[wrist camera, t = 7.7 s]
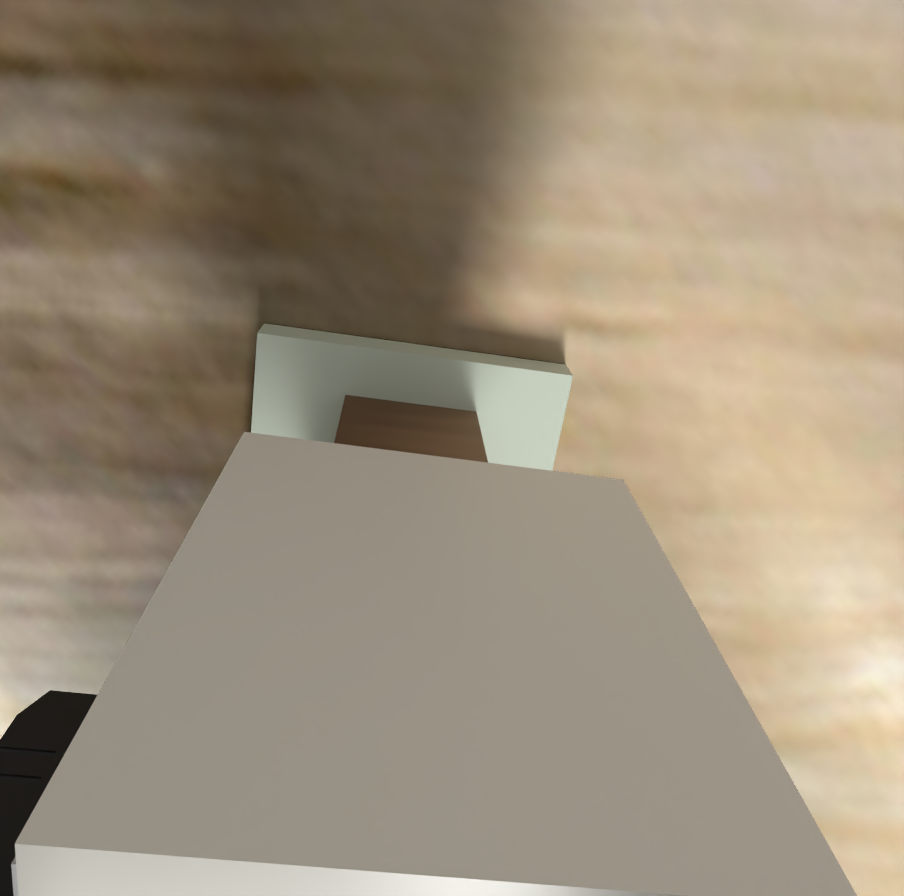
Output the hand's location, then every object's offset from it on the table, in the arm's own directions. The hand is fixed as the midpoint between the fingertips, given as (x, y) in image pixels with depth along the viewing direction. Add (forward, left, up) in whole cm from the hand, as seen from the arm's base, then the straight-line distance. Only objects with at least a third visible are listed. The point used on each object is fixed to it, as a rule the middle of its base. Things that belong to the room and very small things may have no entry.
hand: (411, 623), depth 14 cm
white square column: (0, 0, 0) cm, 0 cm away
